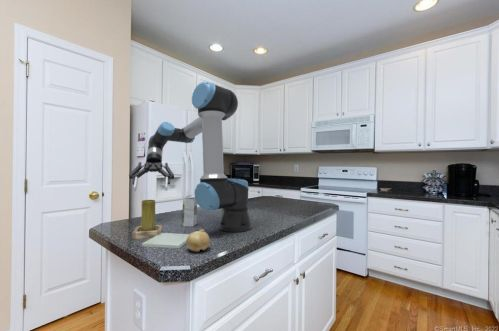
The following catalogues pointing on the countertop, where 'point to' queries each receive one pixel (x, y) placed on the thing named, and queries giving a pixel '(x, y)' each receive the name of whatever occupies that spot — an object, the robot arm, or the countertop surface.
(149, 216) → the vase
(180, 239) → the tile
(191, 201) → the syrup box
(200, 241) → the onion
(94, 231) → the countertop surface
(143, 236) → the collar
